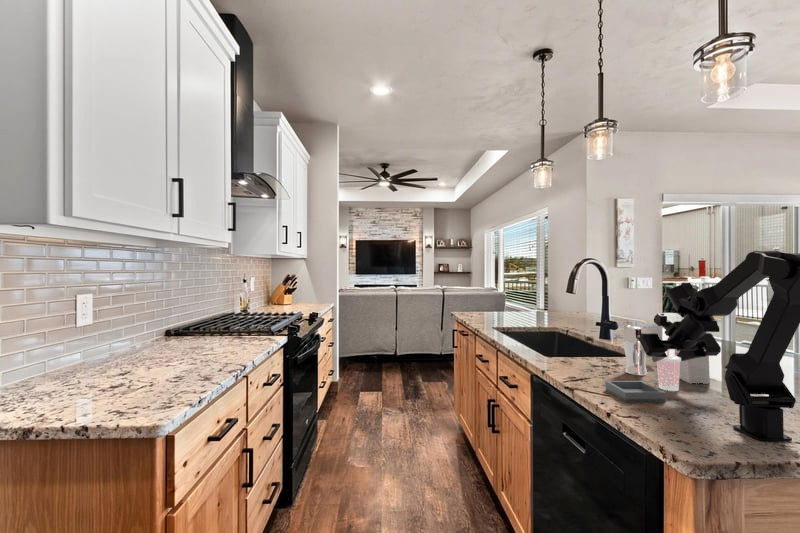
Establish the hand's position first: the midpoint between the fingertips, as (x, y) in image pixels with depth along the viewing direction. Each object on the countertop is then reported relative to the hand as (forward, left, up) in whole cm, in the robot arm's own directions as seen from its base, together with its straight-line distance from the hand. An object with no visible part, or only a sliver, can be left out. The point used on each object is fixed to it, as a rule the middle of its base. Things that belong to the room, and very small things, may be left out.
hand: (665, 360), depth 109 cm
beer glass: (+15, 0, -8) cm, 17 cm away
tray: (-7, +13, -8) cm, 17 cm away
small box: (+7, -12, -8) cm, 16 cm away
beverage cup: (-1, 0, -8) cm, 8 cm away
